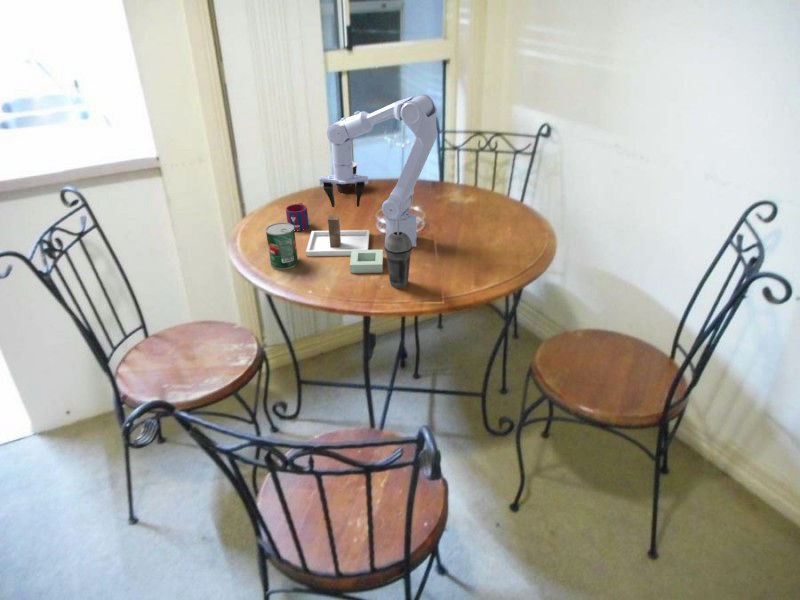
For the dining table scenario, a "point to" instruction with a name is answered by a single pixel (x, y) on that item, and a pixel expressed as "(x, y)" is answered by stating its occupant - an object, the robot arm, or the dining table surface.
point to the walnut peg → (334, 231)
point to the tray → (349, 242)
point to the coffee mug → (350, 186)
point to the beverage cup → (398, 257)
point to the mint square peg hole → (366, 261)
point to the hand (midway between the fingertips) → (345, 205)
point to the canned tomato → (282, 245)
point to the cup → (297, 216)
